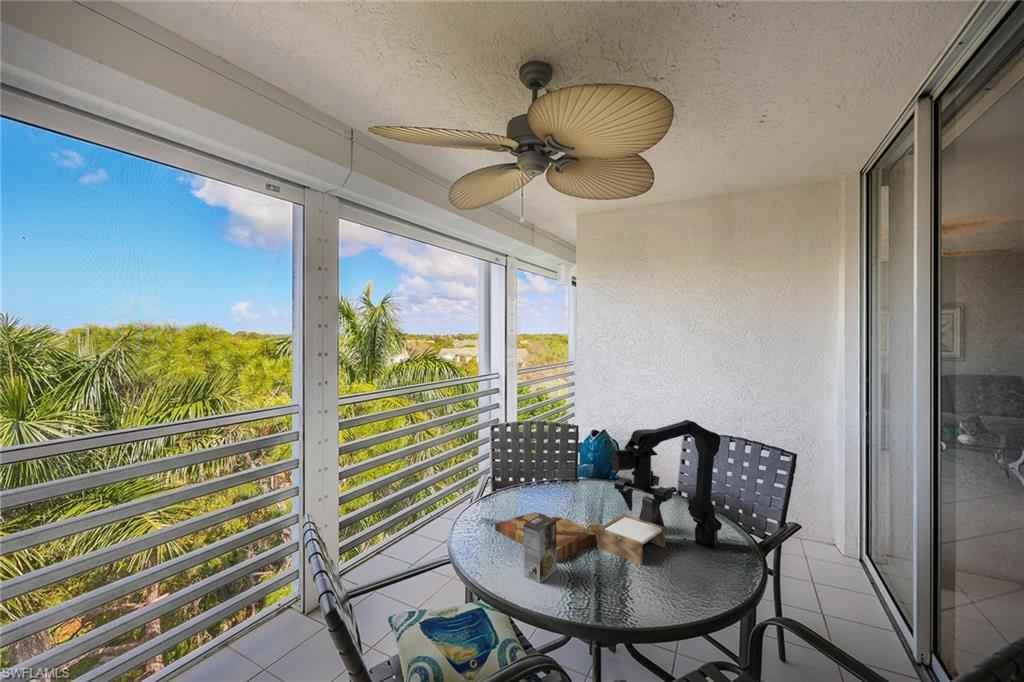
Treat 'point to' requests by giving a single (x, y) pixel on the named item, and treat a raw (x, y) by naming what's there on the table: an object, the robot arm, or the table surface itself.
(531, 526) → the coffee box
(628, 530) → the trapdoor
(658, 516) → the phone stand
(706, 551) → the table surface
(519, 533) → the decorative slab
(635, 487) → the robot arm
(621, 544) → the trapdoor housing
